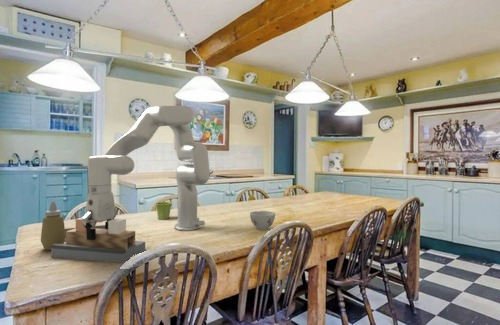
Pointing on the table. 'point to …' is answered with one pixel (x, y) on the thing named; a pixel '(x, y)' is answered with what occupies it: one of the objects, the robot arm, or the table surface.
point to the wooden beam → (101, 239)
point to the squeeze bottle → (52, 228)
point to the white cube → (116, 226)
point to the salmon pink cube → (80, 225)
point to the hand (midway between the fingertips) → (100, 235)
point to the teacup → (262, 219)
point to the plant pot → (163, 209)
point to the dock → (96, 252)
